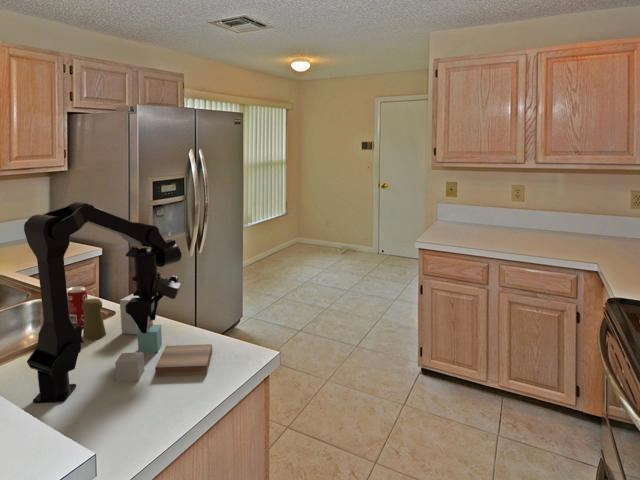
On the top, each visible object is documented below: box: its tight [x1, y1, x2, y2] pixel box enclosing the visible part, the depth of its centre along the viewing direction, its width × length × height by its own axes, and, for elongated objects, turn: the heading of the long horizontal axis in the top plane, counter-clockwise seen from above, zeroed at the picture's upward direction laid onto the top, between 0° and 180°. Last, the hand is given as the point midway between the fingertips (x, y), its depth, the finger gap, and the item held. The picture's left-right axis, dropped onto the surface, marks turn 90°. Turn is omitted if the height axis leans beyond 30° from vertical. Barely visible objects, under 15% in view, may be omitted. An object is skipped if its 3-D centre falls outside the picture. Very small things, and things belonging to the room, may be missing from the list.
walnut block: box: [154, 343, 213, 378], centre depth 112 cm, size 12×12×3 cm
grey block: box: [114, 351, 145, 383], centre depth 105 cm, size 5×5×5 cm
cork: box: [82, 298, 107, 341], centre depth 126 cm, size 6×6×11 cm
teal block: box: [136, 324, 163, 354], centre depth 120 cm, size 5×5×6 cm
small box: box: [119, 293, 154, 335], centre depth 132 cm, size 8×6×10 cm
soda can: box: [67, 285, 89, 327], centre depth 133 cm, size 5×5×12 cm
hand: (148, 326), depth 119 cm, fingers open, 9 cm apart
